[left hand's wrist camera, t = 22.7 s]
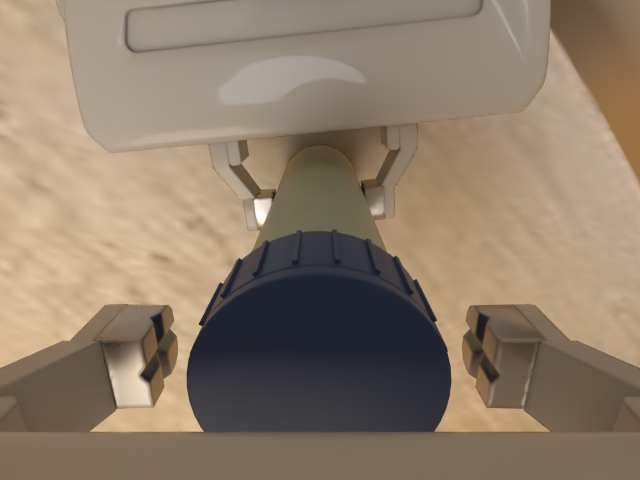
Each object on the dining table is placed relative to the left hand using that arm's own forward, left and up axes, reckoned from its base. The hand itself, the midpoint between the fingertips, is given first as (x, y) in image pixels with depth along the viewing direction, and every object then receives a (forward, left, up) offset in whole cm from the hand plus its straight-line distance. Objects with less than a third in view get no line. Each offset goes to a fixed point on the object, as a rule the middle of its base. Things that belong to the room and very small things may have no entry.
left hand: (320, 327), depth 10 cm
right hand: (-1, +1, -11) cm, 11 cm away
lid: (0, 0, +2) cm, 2 cm away
